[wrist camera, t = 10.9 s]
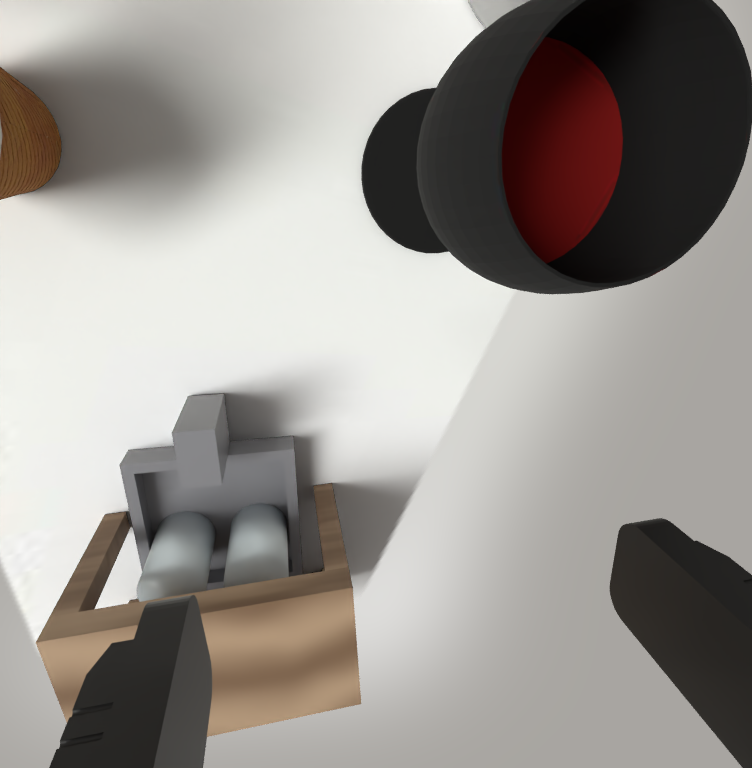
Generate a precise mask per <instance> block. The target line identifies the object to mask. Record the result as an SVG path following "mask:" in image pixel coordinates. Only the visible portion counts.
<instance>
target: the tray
mask: <svg viewBox="0 0 752 768" xmlns="http://www.w3.org/2000/svg"><path fill="white" fill-rule="evenodd" d="M172 436H173V442H174V446H170V447H158V448H146V449H135V450H128V452H127V453H126V455H125V457H124V458H123V460H122V462H121V464H120V469H121V474H122V479H123V483H124V488H125V493H126V497H127V502H128V507H129V511H130V516H131V521H132V525H133V530H134V535H135V540H136V544H137V549H138V554H139V558H140V563H141V568H142V574H141V577H140V580H139V583H138V585H137V597H138V600H139V602H141V601H147V600H153V599H159V598H165V597H171V596H177V595H183V594H189V593H195V592H201V591H207V590H213V589H219V588H225V587H231V586H237V585H243V584H249V583H255V582H261V581H267V580H273V579H279V578H285V577H291V576H297V575H303V569H302V554H301V540H300V525H299V511H298V496H297V482H296V467H295V452H294V439H293V436H285V437H274V438H262V439H251V440H239V441H230V439H229V430H228V422H227V414H226V406H225V397H224V394H212V395H197V396H188V397H187V400H186V402H185V404H184V407H183V409H182V411H181V413H180V416H179V418H178V420H177V422H176V425H175V427H174V429H173V432H172Z"/></svg>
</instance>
